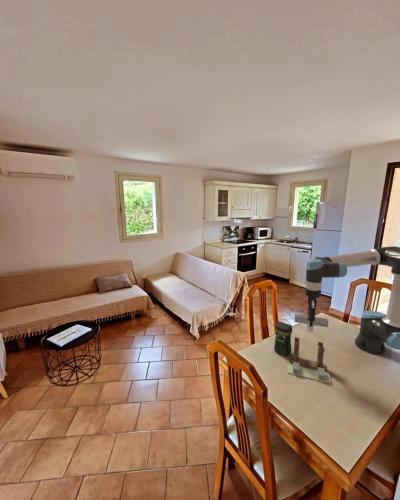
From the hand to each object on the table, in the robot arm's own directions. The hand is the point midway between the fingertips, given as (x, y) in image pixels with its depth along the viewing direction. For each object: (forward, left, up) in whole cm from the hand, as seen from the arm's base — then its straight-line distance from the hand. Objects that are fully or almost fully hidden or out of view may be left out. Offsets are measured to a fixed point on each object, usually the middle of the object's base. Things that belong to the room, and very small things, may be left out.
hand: (310, 329), depth 120 cm
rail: (0, 0, +4) cm, 4 cm away
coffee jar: (+14, -7, -21) cm, 26 cm away
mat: (0, +8, -21) cm, 23 cm away
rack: (0, 0, -21) cm, 21 cm away
